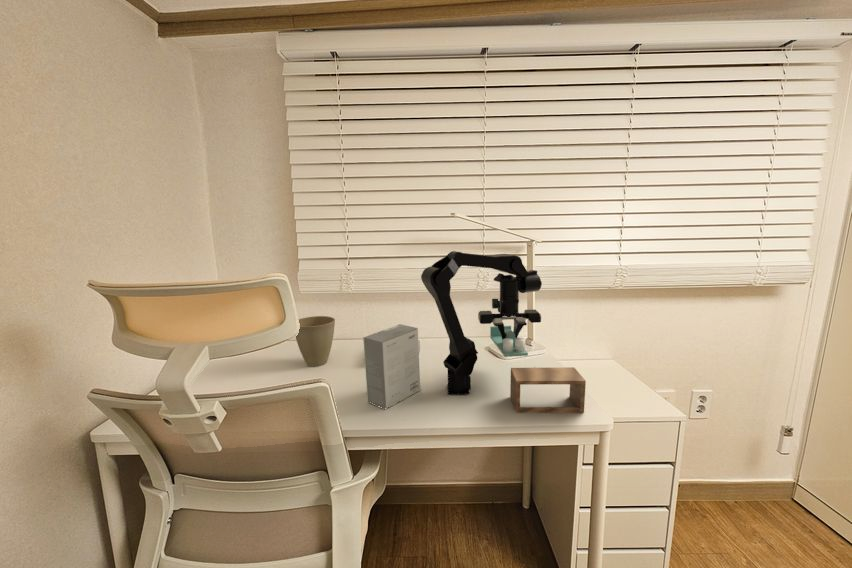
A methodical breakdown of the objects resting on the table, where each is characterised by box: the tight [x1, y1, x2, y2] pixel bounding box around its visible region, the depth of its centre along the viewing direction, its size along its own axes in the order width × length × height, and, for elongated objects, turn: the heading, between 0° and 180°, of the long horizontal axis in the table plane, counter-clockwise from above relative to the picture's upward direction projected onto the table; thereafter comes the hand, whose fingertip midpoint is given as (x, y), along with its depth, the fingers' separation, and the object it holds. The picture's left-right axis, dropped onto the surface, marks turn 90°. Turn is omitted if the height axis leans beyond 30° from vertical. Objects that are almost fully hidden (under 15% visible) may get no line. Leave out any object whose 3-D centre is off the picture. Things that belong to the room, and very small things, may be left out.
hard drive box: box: [362, 324, 421, 410], centre depth 114 cm, size 16×8×20 cm, turn 141°
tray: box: [489, 325, 529, 358], centre depth 124 cm, size 18×7×5 cm, turn 4°
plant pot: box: [295, 315, 336, 367], centre depth 142 cm, size 15×15×16 cm
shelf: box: [509, 366, 586, 413], centre depth 108 cm, size 18×9×9 cm, turn 88°
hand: (508, 342), depth 124 cm, fingers closed on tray, 3 cm apart
